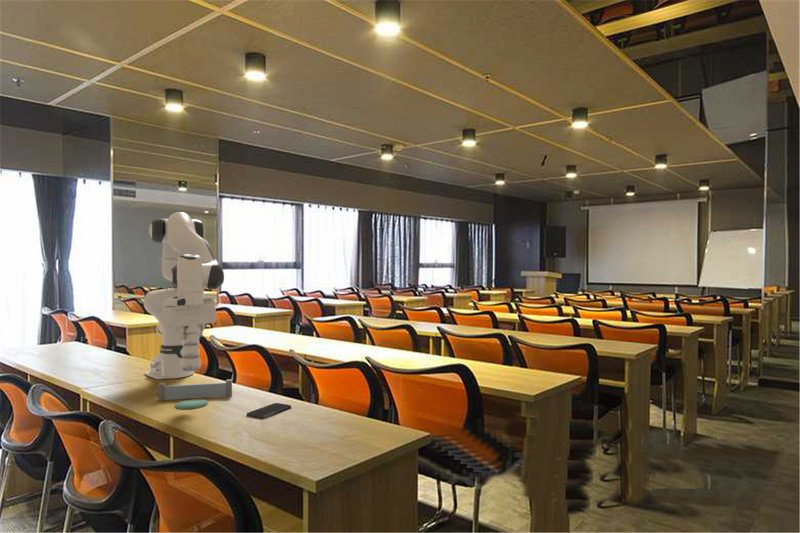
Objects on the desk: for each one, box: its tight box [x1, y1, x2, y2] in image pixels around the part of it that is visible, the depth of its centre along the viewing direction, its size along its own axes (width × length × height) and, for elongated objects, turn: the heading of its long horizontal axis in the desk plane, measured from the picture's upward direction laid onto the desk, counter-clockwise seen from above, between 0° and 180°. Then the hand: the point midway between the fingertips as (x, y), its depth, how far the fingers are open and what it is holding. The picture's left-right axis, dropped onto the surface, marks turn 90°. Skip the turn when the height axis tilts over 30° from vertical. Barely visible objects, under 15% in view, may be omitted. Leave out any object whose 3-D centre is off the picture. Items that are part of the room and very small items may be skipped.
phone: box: [246, 402, 292, 420], centre depth 176 cm, size 8×1×15 cm
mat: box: [174, 399, 208, 410], centre depth 184 cm, size 11×11×1 cm
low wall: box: [157, 378, 233, 401], centre depth 194 cm, size 26×2×6 cm, turn 103°
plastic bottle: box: [181, 319, 202, 372], centre depth 184 cm, size 6×7×20 cm
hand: (190, 338), depth 184 cm, fingers closed on plastic bottle, 6 cm apart
